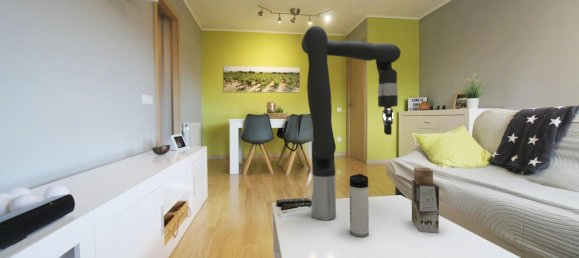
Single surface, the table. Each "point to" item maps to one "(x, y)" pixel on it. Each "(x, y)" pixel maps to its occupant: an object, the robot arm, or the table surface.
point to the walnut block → (423, 176)
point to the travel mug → (359, 205)
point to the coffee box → (425, 207)
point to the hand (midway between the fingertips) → (387, 133)
